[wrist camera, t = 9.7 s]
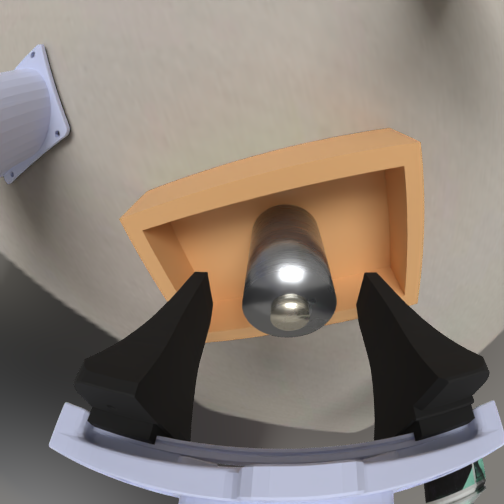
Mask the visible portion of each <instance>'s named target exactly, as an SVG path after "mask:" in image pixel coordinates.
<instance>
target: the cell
mask: <svg viewBox="0 0 504 504" xmlns="http://www.w3.org/2000/svg"><path fill="white" fill-rule="evenodd" d="M336 305H337V299H336V294H335V289H334V285H333V281H332V277H331V273H330V269H329V265H328V261H327V257H326V254H325V250H324V246H323V242H322V239H321V235H320V232H319V228H318V225H317V222H316V220H315V219H314V217H313V216H312V215H311V214H310V213H309V212H308V211H306V210H305V209H303V208H301V207H298V206H295V205H289V204H283V205H277V206H273V207H271V208H269V209H267V210H265V211H264V212H263V213H262V214H260V215H259V217H258V218H257V219H256V221H255V223H254V225H253V229H252V235H251V242H250V250H249V257H248V264H247V271H246V278H245V286H244V293H243V300H242V310H243V313H244V315H245V317H246V319H247V320H248V322H249V323H250V324H251V325H252V326H253V327H255V328H256V329H258V330H259V331H261V332H263V333H266V334H269V335H272V336H277V337H298V336H303V335H306V334H309V333H312V332H314V331H316V330H318V329H320V328H321V327H322V326H324V325H325V324H326V323H327V322H328V321H329V320H330V319H331V317H332V316H333V314H334V312H335V309H336Z"/></svg>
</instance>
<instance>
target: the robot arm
mask: <svg viewBox="0 0 504 504" xmlns="http://www.w3.org/2000/svg"><path fill="white" fill-rule="evenodd" d="M34 54H35V56H34ZM58 131H59V132H60V136H59V134H58ZM69 132H70V127H69V124H68V121H67V119H66V116H65V113H64V110H63V108H62V105H61V102H60V99H59V96H58V93H57V90H56V86H55V83H54V80H53V77H52V73H51V70H50V66H49V62H48V59H47V55H46V51H45V47H44V45H43V44H39V45H37V46H36V47H35V48H34V49H33V50H32V51H31V52H30V53H29V54H28V55H27V56H26V57H25V58H24V59H23V60H22V61H21V62H20V64H19V65H18V66H17V67H16V68H15V69H14V70H12V71H7V72H2V73H0V177H2V176H4V179H5V181H6V183H7V184H10V183H12V182H13V181H14V180H15V179H16V178H17V177H18V176H19V175H20V174H21V173H23V172H24V171H25V170H26V169H27V168H28V167H29V166H30V165H31V164H33V163H34V162H35V161H36V160H37V159H38V158H40V157H41V156H42V155H43V154H44V153H46V152H47V151H48V150H49V149H51V148H52V147H53V146H54V145H56V144H57V143H58V142H60V141H61V140H62V139H64V138H65V137H66V136H67V135H68V134H69ZM356 308H357V315H358V321H359V326H360V329H361V333H362V336H363V340H364V344H365V347H366V351H367V355H368V358H369V362H370V367H371V374H372V382H373V393H374V411H375V430H374V441H370V442H364V443H357V444H350V445H341V446H331V447H319V448H299V449H262V448H261V449H259V448H241V447H229V446H218V445H210V444H202V443H195V442H190V438H191V422H192V421H191V420H192V410H193V401H194V393H195V385H196V379H197V372H198V367H199V363H200V359H201V355H202V352H203V348H204V345H205V341H206V338H207V334H208V330H209V327H210V323H211V317H212V310H213V300H212V295H211V289H210V283H209V278H208V272H194V273H193V274H192V275H191V276H190V277H189V279H188V280H187V281H186V282H185V283H184V284H183V286H182V287H181V288H180V289H179V290H178V291H177V292H176V293H175V295H174V296H173V297H172V298H171V299H170V300H169V301H168V302H167V303H166V304H165V305H164V306H163V307H162V308H161V309H160V310H159V311H158V312H157V313H156V314H155V315H154V316H153V317H152V318H151V319H149V320H148V321H147V322H146V323H145V324H143V325H142V326H141V327H140V328H138V329H137V330H136V331H134V332H133V333H131V334H130V335H128V336H127V337H126V338H124V339H123V340H121V341H119V342H118V343H116V344H114V345H113V346H111V347H109V348H107V349H105V350H104V351H102V352H100V353H97V354H95V355H93V356H91V357H89V358H87V359H85V360H84V362H83V364H82V366H81V368H80V370H79V372H78V374H77V377H76V379H75V381H74V384H73V385H74V387H75V389H76V391H77V392H78V393H79V394H80V395H81V396H82V397H83V398H84V399H85V400H86V401H87V402H88V403H89V404H90V405H91V406H92V410H91V412H89V411H87V410H85V409H83V408H81V407H78V406H75V405H73V404H70V403H68V402H66V403H65V404H64V407H63V409H62V412H61V414H60V416H59V419H58V422H57V424H56V427H55V429H54V432H53V435H52V437H51V440H50V443H49V447H50V448H52V449H54V450H55V451H57V452H59V453H61V454H62V455H64V456H66V457H68V458H70V459H71V460H73V461H75V462H77V463H79V464H81V465H83V466H85V467H88V468H90V469H92V470H94V471H97V472H99V473H102V474H104V475H106V476H109V477H112V478H114V479H117V480H120V481H123V482H125V483H128V484H131V485H134V486H137V487H140V488H144V489H147V490H151V491H154V492H158V493H161V494H166V495H169V496H174V497H178V498H179V504H394V496H393V493H395V492H399V491H402V490H406V489H409V488H412V487H415V486H418V485H421V484H424V483H427V482H430V481H432V480H435V479H438V478H440V477H443V476H445V475H447V474H450V473H452V472H454V471H457V470H459V469H461V468H463V467H466V466H468V465H470V464H472V463H474V462H476V461H478V460H479V459H481V458H483V457H485V456H486V455H488V454H490V453H491V452H493V451H495V450H496V449H498V448H500V447H501V446H503V445H504V431H503V427H502V424H501V421H500V417H499V414H498V411H497V407H496V404H495V402H494V400H492V401H490V402H487V403H485V404H482V405H480V406H478V407H476V408H474V409H472V406H471V404H472V403H474V399H473V396H472V395H473V394H474V393H475V392H476V391H477V390H478V389H479V388H480V387H481V386H482V385H483V384H484V383H485V382H486V380H487V378H488V377H489V370H488V368H487V365H486V363H485V361H484V358H483V357H482V356H480V355H478V354H476V353H474V352H472V351H470V350H467V349H466V348H464V347H462V346H460V345H459V344H457V343H455V342H454V341H452V340H450V339H449V338H447V337H446V336H444V335H443V334H442V333H440V332H439V331H437V330H436V329H435V328H433V327H432V326H431V325H430V324H428V323H427V322H426V321H425V320H424V319H422V318H421V317H420V316H419V315H418V314H417V313H416V312H415V311H414V310H413V309H412V308H410V307H409V306H408V305H407V304H406V303H405V302H404V301H403V300H402V299H401V297H400V296H399V295H398V294H397V293H396V292H395V291H394V290H393V289H392V288H391V287H390V286H389V285H388V284H387V283H386V282H385V281H384V280H383V278H382V277H381V276H380V275H379V274H378V273H377V272H366V273H364V276H363V280H362V284H361V288H360V292H359V296H358V299H357V303H356ZM215 463H216V464H215ZM217 464H226V465H237V466H238V465H239V466H244V467H218V465H217Z"/></svg>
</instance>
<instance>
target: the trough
mask: <svg viewBox="0 0 504 504" xmlns="http://www.w3.org/2000/svg"><path fill="white" fill-rule="evenodd" d="M283 204H289V205H295V206H298V207H301V208H303V209H305V210H306V211H308V212H309V213H310V214H311V215H312V216H313V217H314V219H315V220H316V222H317V225H318V228H319V232H320V235H321V239H322V242H323V246H324V250H325V254H326V257H327V261H328V265H329V269H330V273H331V277H332V281H333V285H334V289H335V294H336V299H337V305H336V309H335V312H334V314H333V316H332V317H331V319H330V320H329V321H328V322H327V323H326V324H325V325H329V324H334V323H339V322H344V321H349V320H353V319H358V315H357V308H356V303H357V299H358V296H359V292H360V288H361V284H362V280H363V276H364V273H366V272H377V273H378V274H379V275H380V276H381V277H382V278H383V280H384V281H385V282H386V283H387V284H388V285H389V286H390V287H391V288H392V289H393V290H394V291H395V292H396V293H397V294H398V295H399V296H400V297H401V299H402V300H403V301H404V302H405V303H406V304H407V305H408V306H409V305H413V304H417V302H418V295H419V287H420V278H421V268H422V256H423V239H424V180H423V164H422V152H421V142H419V141H417V140H415V139H413V138H411V137H409V136H406V135H404V134H402V133H400V132H398V131H395V130H393V129H391V128H386V129H379V130H372V131H366V132H360V133H354V134H349V135H343V136H338V137H333V138H328V139H323V140H318V141H314V142H309V143H305V144H300V145H296V146H292V147H287V148H283V149H279V150H275V151H271V152H268V153H264V154H260V155H256V156H253V157H249V158H246V159H242V160H239V161H235V162H232V163H228V164H225V165H222V166H219V167H215V168H212V169H209V170H206V171H203V172H200V173H197V174H194V175H191V176H188V177H185V178H182V179H179V180H176V181H174V182H171V183H168V184H165V185H163V186H160V187H157V188H155V189H152V190H149V191H147V192H146V193H145V194H144V195H143V196H142V197H141V198H140V199H139V200H138V201H137V202H136V203H135V204H134V205H133V206H132V207H131V208H130V209H129V210H128V211H127V212H126V213H125V214H124V215H123V216H122V217H121V218H120V219H119V220H120V222H121V223H122V225H123V227H124V229H125V231H126V233H127V235H128V236H129V238H130V240H131V242H132V244H133V245H134V247H135V249H136V251H137V253H138V254H139V256H140V258H141V260H142V261H143V263H144V265H145V266H146V268H147V270H148V271H149V273H150V275H151V276H152V278H153V280H154V281H155V283H156V285H157V286H158V288H159V289H160V291H161V293H162V294H163V296H164V297H165V299H166V300H167V302H168V301H169V300H170V299H171V298H172V297H173V296H174V295H175V293H176V292H177V291H178V290H179V289H180V288H181V287H182V286H183V284H184V283H185V282H186V281H187V280H188V279H189V277H190V276H191V275H192V274H193V273H194V272H208V278H209V283H210V289H211V295H212V300H213V310H212V317H211V323H210V327H209V330H208V334H207V338H206V341H205V343H208V342H218V341H227V340H236V339H244V338H251V337H259V336H266V335H269V334H266V333H263V332H261V331H259V330H258V329H256V328H255V327H253V326H252V325H251V324H250V323H249V322H248V320H247V319H246V317H245V315H244V313H243V310H242V300H243V293H244V286H245V278H246V271H247V264H248V257H249V250H250V242H251V235H252V229H253V225H254V223H255V221H256V219H257V218H258V217H259V215H260V214H262V213H263V212H264V211H265V210H267V209H269V208H271V207H273V206H277V205H283Z"/></svg>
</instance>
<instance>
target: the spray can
mask: <svg viewBox="0 0 504 504" xmlns="http://www.w3.org/2000/svg"><path fill="white" fill-rule="evenodd" d="M485 481H486V477H485V471H484V465H483V460H482V458H481V459H479V460H478V461H476V462H474V463H472V464H470V465H468V466H466V467H463V468H461V469H459V470H457V471H454V472H452V473H450V474H447V475H445V476H443V477H440V478H438V479H435V480H432V481H430V482H427V483H424V489H425V498H426V504H473V502H474V501H475V500H476V498H477V497H478V496H479V495H480V494H481V492H482V491H484V490H485V489H486V486H484V484H485Z"/></svg>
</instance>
